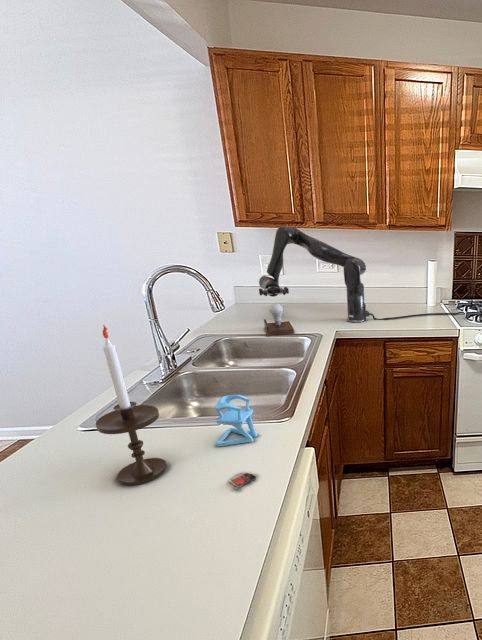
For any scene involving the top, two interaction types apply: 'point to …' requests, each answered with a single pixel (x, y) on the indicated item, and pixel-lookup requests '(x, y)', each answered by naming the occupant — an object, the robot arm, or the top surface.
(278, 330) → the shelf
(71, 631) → the top surface
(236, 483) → the matchbox
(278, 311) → the lightbulb
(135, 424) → the candlestick
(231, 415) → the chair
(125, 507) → the top surface
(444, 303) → the top surface
